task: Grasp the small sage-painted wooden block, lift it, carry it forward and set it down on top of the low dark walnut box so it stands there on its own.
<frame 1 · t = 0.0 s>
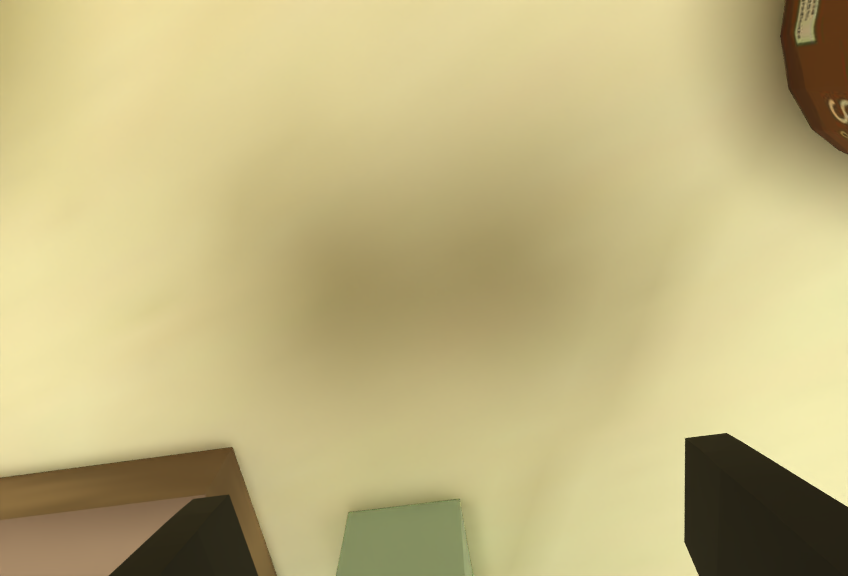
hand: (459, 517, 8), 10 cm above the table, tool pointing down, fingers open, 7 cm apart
sage block: (413, 547, 22), on the table
walnut box: (143, 570, 23), on the table
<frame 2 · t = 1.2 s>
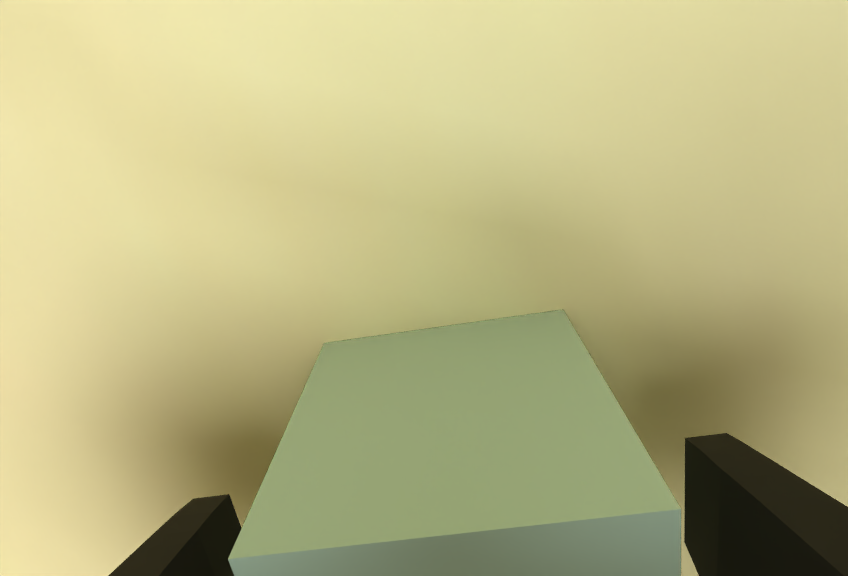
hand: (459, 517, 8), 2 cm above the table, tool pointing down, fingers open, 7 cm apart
sage block: (458, 426, 11), on the table
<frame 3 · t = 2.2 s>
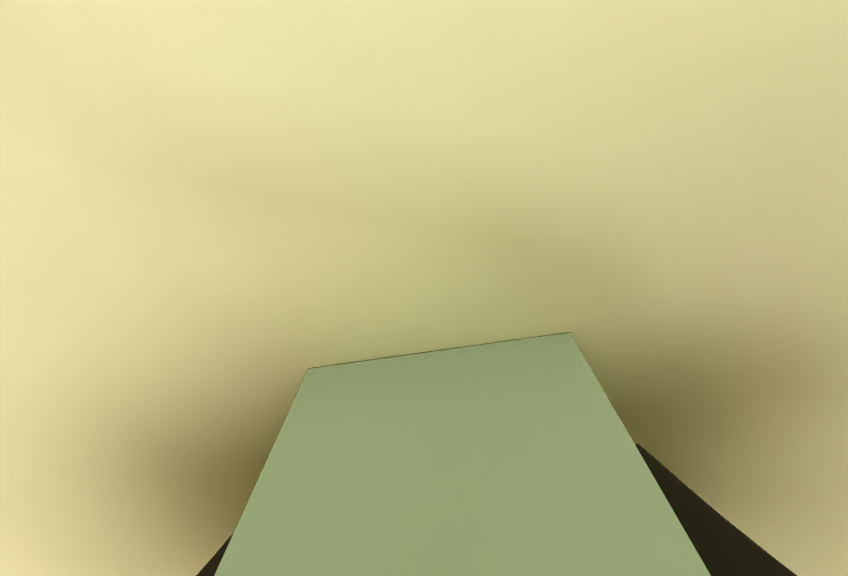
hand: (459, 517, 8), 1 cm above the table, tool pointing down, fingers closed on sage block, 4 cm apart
sage block: (455, 459, 10), on the table, touching gripper
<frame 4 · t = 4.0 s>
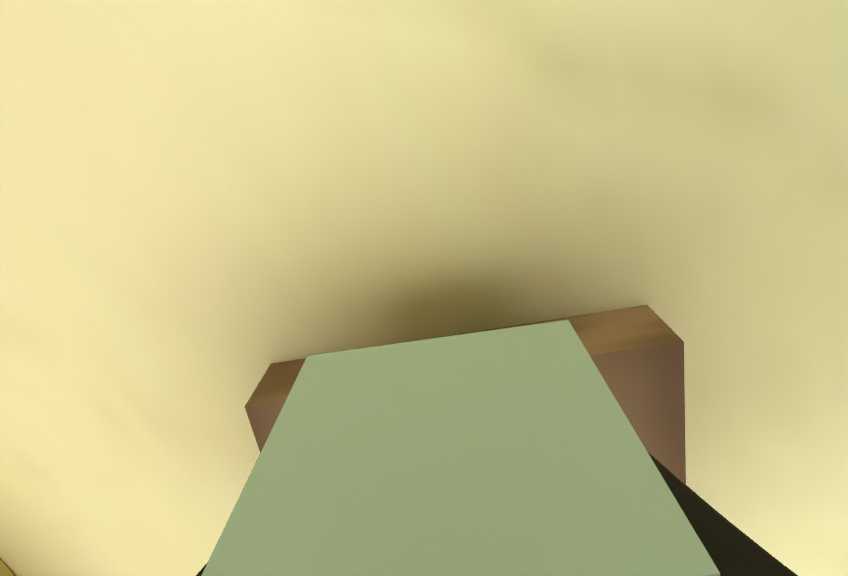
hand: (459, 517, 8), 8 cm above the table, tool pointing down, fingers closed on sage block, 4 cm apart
sage block: (453, 447, 10), point 7 cm above the table, touching gripper
walnut box: (479, 477, 19), on the table
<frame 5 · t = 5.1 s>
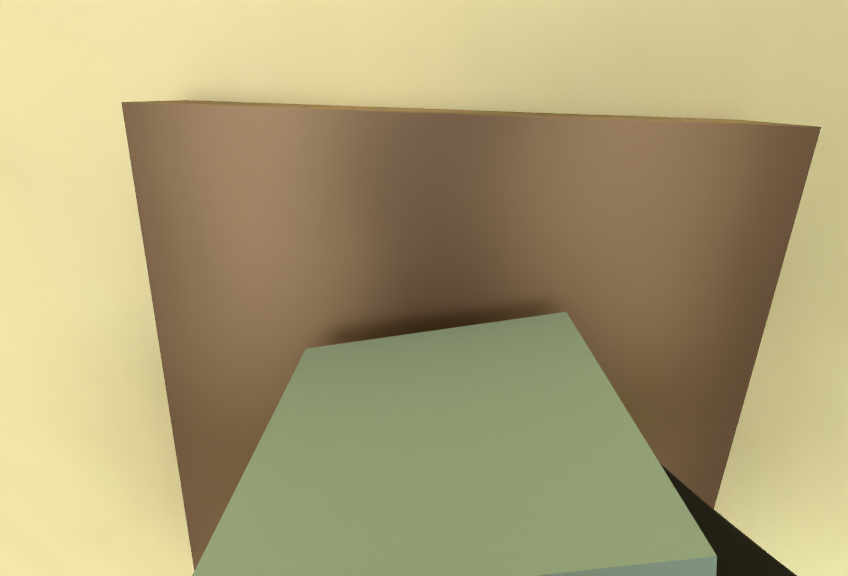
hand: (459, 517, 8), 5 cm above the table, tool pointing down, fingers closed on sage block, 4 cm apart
sage block: (452, 440, 10), point 4 cm above the table, touching gripper
walnut box: (448, 349, 14), on the table
when the fingers open (5 cm above the table, at t = 5.8 s): sage block drops 1 cm, point 2 cm above the table.
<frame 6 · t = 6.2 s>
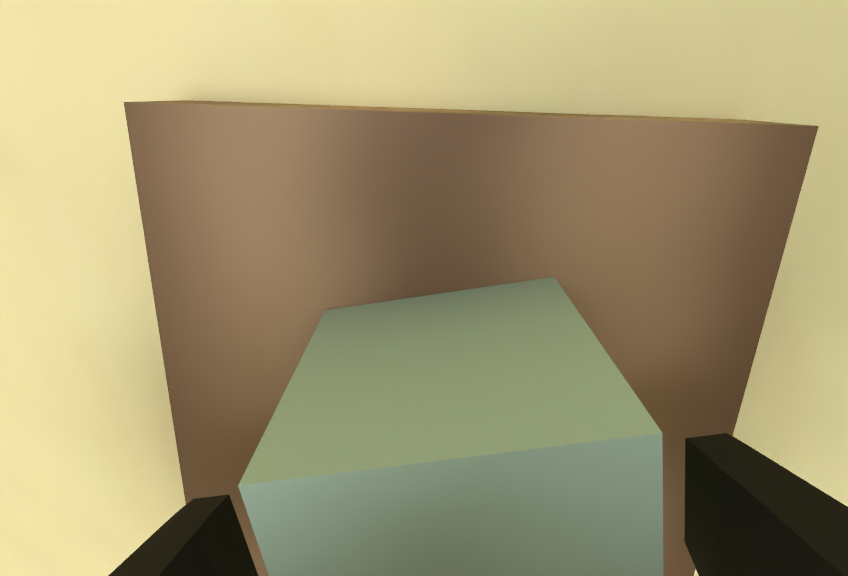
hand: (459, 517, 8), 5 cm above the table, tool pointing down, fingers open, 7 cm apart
sage block: (454, 393, 11), point 2 cm above the table
walnut box: (448, 348, 14), on the table
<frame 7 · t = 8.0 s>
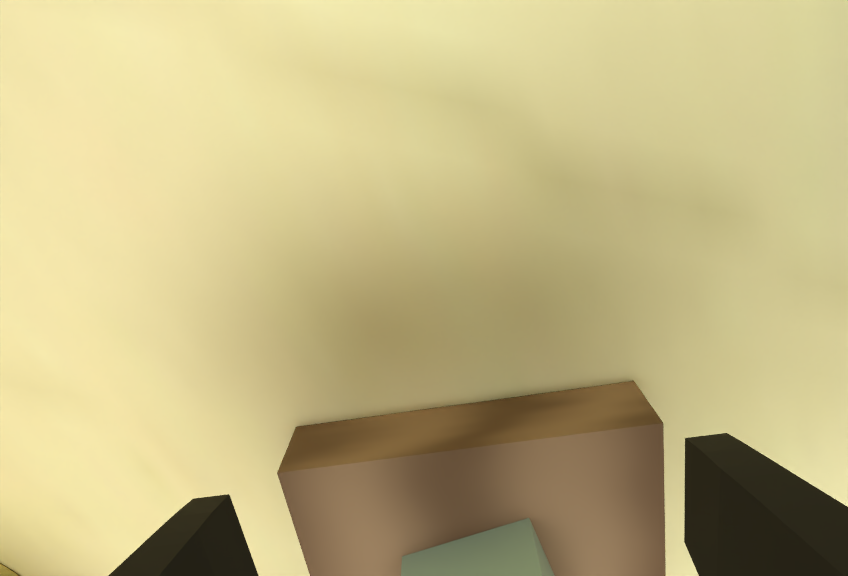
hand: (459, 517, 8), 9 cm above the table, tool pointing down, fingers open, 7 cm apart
walnut box: (481, 524, 21), on the table, touching sage block
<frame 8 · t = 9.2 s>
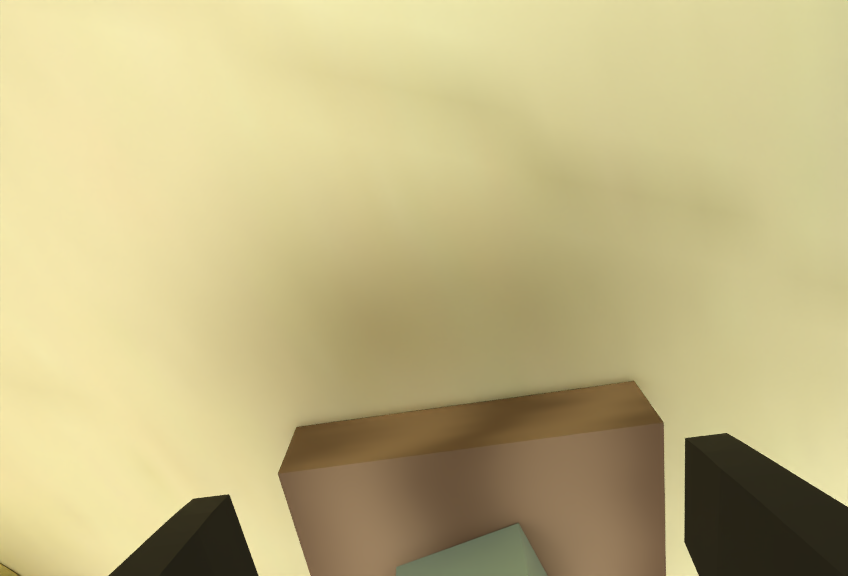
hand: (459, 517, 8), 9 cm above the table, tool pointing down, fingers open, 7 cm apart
walnut box: (482, 524, 21), on the table
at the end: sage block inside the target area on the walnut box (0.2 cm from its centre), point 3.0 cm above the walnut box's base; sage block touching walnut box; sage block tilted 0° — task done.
